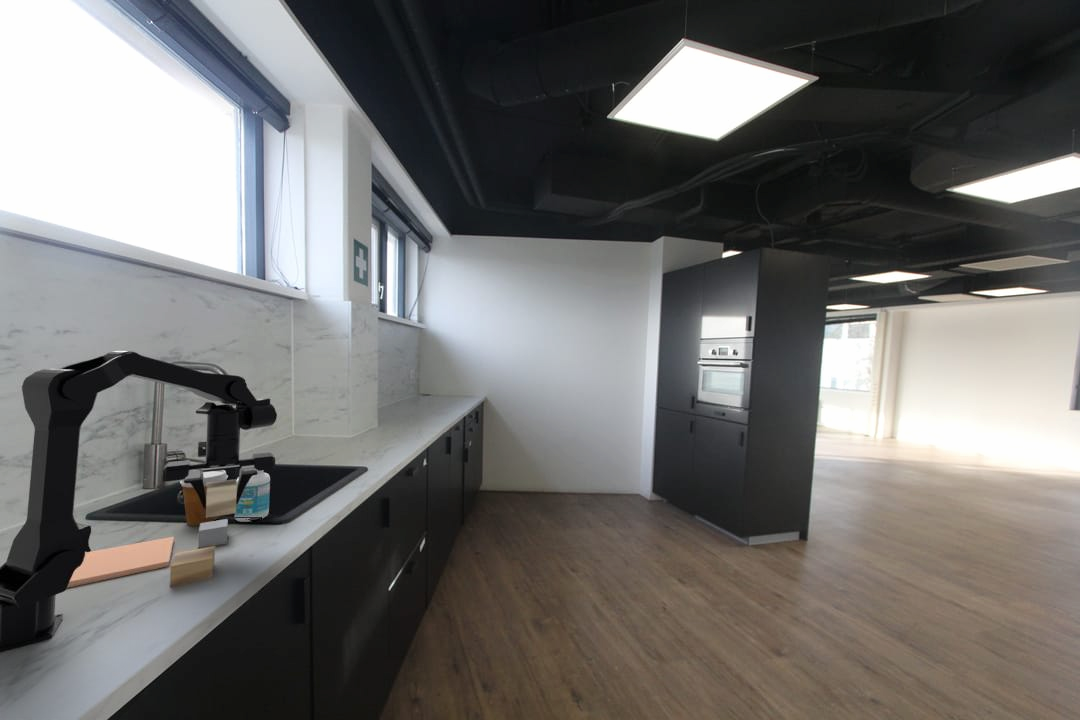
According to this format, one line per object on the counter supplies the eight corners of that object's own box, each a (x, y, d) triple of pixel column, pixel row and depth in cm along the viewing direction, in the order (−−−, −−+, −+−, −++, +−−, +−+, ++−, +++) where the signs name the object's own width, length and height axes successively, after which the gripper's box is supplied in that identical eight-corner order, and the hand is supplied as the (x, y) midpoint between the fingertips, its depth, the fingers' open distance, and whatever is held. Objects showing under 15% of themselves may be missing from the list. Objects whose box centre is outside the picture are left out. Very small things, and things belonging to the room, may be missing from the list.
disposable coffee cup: (168, 529, 99) (170, 479, 99) (193, 514, 109) (195, 469, 109) (213, 527, 101) (215, 478, 101) (234, 513, 111) (235, 468, 111)
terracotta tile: (168, 566, 82) (168, 561, 82) (63, 588, 74) (63, 582, 74) (173, 541, 93) (173, 536, 93) (82, 557, 84) (83, 552, 84)
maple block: (235, 512, 88) (236, 484, 88) (205, 517, 85) (206, 488, 85) (234, 506, 92) (235, 479, 92) (206, 510, 89) (207, 482, 89)
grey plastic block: (226, 543, 93) (227, 526, 93) (198, 549, 90) (198, 530, 90) (227, 535, 97) (227, 518, 97) (199, 540, 94) (200, 523, 94)
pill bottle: (226, 520, 105) (228, 468, 105) (253, 511, 113) (255, 461, 113) (250, 524, 104) (252, 471, 104) (275, 514, 111) (277, 464, 111)
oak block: (211, 579, 79) (212, 558, 79) (169, 588, 75) (170, 566, 75) (214, 565, 83) (215, 546, 83) (175, 573, 80) (176, 552, 80)
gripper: (271, 425, 100) (268, 488, 100) (168, 431, 89) (165, 503, 89) (276, 431, 92) (274, 501, 92) (163, 439, 80) (160, 519, 80)
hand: (221, 505), depth 88 cm, fingers closed on maple block, 5 cm apart
